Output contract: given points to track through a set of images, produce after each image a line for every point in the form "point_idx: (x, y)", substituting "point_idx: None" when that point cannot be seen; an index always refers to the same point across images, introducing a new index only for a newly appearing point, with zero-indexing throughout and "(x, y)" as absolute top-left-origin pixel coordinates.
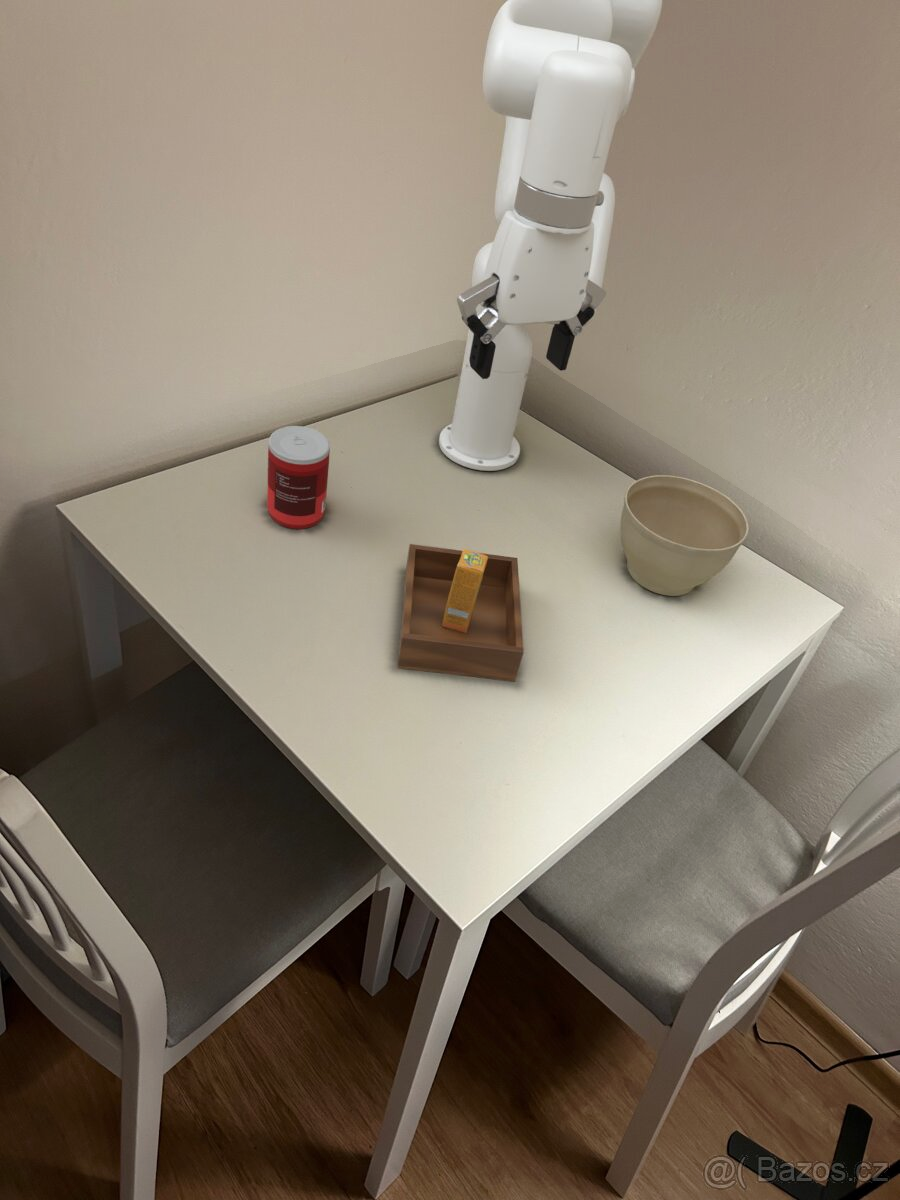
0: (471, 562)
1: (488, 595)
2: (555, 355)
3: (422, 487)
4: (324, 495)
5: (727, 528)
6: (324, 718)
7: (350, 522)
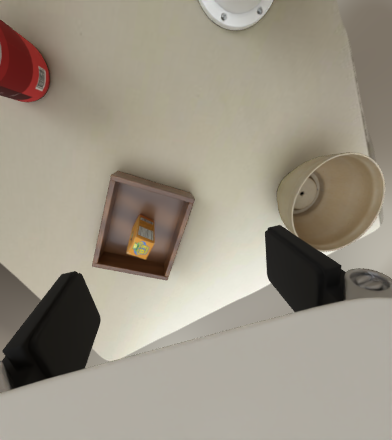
0: (138, 252)
1: (172, 202)
2: (277, 267)
3: (155, 47)
4: (33, 83)
5: (361, 201)
6: (53, 281)
7: (77, 96)
